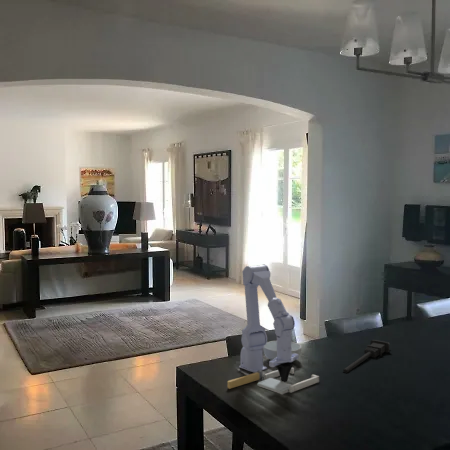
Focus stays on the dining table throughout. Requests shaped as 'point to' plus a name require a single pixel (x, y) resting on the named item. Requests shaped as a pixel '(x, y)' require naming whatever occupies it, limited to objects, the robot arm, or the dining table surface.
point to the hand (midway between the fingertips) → (284, 381)
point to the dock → (293, 387)
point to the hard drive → (275, 385)
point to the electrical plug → (370, 353)
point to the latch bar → (245, 379)
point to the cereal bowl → (271, 349)
